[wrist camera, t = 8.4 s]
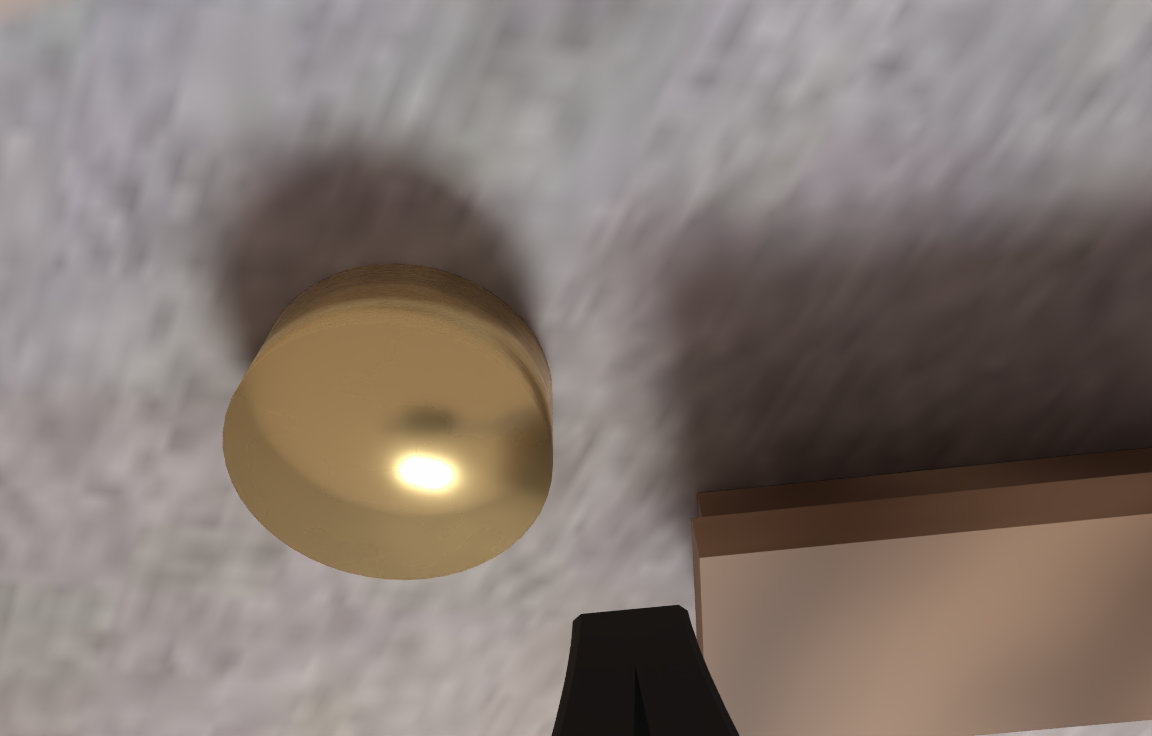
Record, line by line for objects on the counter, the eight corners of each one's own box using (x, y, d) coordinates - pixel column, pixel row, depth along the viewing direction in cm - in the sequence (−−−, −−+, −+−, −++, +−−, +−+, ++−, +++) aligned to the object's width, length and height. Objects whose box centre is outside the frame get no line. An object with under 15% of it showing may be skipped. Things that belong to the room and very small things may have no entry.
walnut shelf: (1538, 331, 17) (1785, 451, 14) (1412, 541, 20) (1586, 680, 17) (670, 421, 18) (699, 558, 14) (682, 611, 21) (707, 759, 17)
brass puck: (531, 243, 16) (527, 305, 13) (567, 483, 19) (570, 564, 17) (222, 278, 16) (171, 344, 14) (310, 510, 19) (280, 593, 17)
